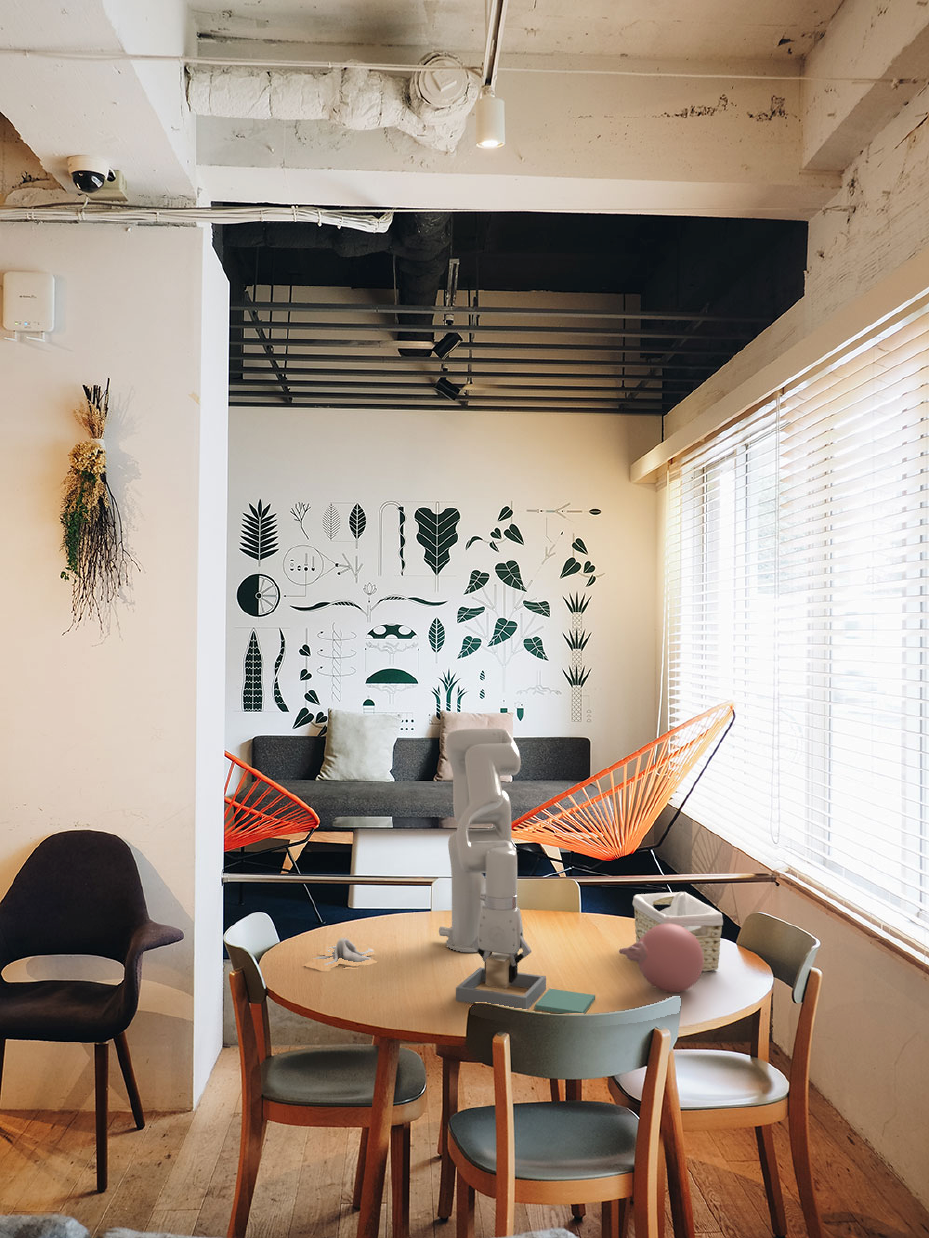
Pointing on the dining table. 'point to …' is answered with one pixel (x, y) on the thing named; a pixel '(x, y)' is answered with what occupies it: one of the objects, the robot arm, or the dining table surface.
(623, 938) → the dining table surface
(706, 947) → the storage basket
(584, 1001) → the mat
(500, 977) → the label box
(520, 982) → the bin
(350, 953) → the cloth
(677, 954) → the pink balloon
